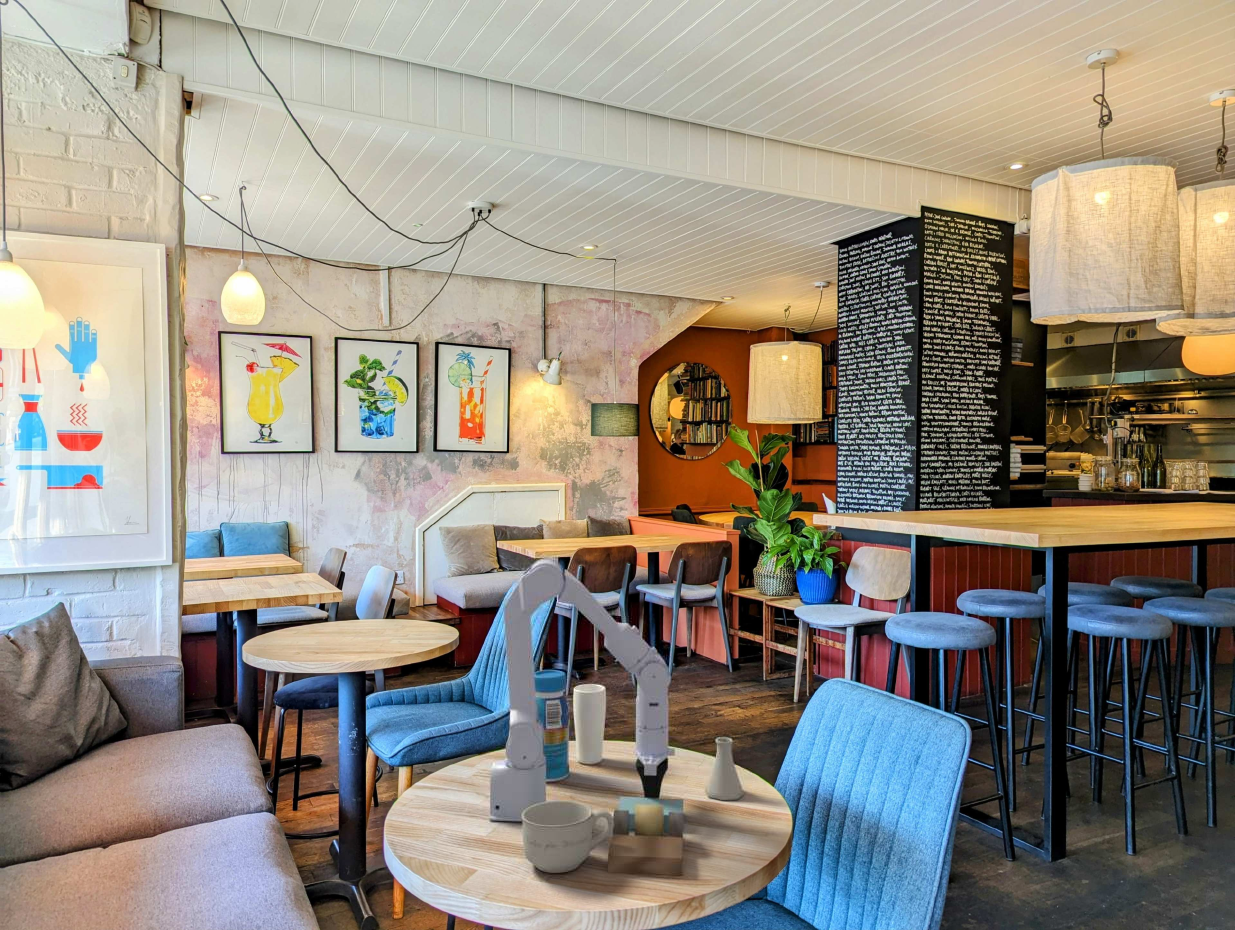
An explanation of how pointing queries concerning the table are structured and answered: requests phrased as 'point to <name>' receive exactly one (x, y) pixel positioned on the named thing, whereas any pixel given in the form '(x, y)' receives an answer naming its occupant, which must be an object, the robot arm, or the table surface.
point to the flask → (724, 774)
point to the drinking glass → (589, 721)
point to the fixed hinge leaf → (646, 848)
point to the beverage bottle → (553, 722)
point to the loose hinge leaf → (649, 814)
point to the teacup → (561, 834)
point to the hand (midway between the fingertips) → (652, 802)
